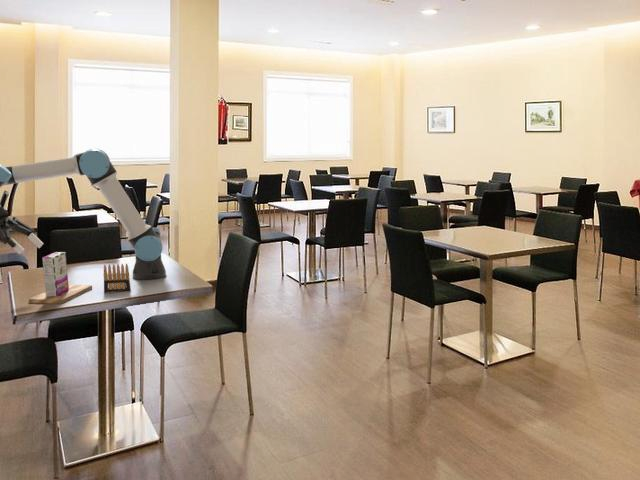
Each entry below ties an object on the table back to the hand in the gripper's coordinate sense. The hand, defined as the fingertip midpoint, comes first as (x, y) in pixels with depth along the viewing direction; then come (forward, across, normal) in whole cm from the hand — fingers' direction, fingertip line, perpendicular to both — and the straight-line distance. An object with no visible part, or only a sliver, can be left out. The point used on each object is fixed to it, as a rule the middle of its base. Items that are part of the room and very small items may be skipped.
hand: (31, 248), depth 249 cm
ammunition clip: (+36, -10, +8) cm, 38 cm away
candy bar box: (+20, +2, -6) cm, 21 cm away
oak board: (+22, -1, -6) cm, 22 cm away
